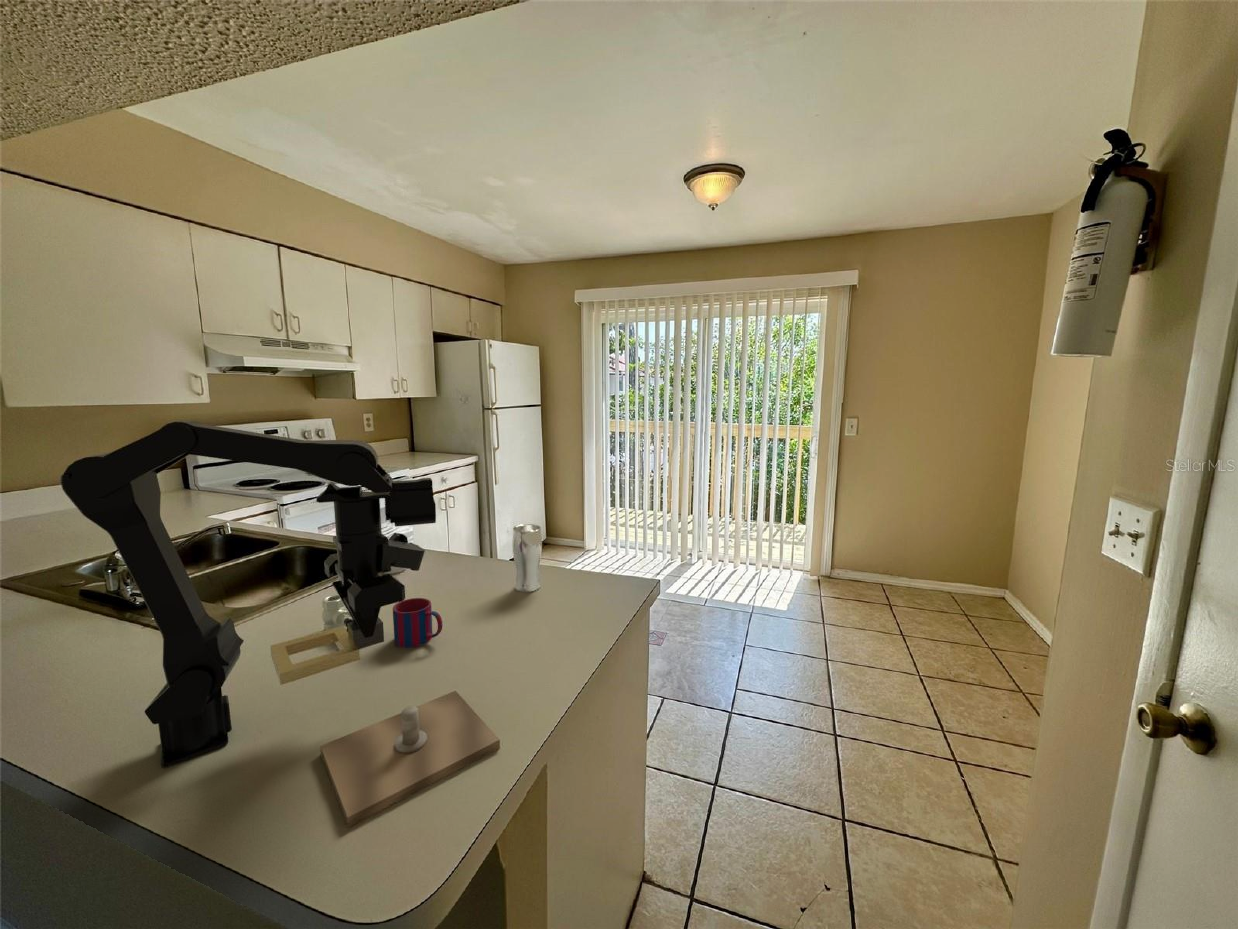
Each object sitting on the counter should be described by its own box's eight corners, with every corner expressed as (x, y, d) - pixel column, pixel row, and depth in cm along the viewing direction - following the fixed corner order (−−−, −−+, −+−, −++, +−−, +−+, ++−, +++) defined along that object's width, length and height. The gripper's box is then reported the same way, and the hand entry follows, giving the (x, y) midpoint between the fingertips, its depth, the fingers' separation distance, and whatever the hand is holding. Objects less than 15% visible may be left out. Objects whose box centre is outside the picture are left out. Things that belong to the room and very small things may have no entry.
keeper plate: (348, 827, 52) (344, 780, 51) (321, 754, 62) (317, 714, 61) (499, 747, 63) (499, 708, 63) (455, 697, 74) (454, 663, 73)
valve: (312, 633, 93) (343, 653, 86) (309, 601, 92) (340, 618, 85) (347, 620, 98) (379, 638, 92) (345, 590, 97) (377, 605, 91)
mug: (416, 627, 96) (414, 595, 95) (452, 639, 91) (451, 606, 90) (386, 642, 90) (384, 608, 89) (423, 656, 85) (422, 620, 84)
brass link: (280, 685, 60) (278, 663, 59) (271, 655, 67) (269, 635, 66) (390, 649, 69) (389, 630, 68) (372, 626, 75) (371, 608, 75)
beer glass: (507, 591, 114) (506, 530, 112) (521, 580, 121) (521, 522, 119) (534, 595, 112) (533, 533, 110) (547, 584, 119) (546, 525, 117)
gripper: (440, 534, 67) (445, 639, 69) (396, 509, 80) (401, 597, 82) (351, 550, 59) (359, 667, 61) (320, 520, 73) (327, 616, 75)
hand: (365, 632), depth 70 cm, fingers closed on brass link, 3 cm apart
